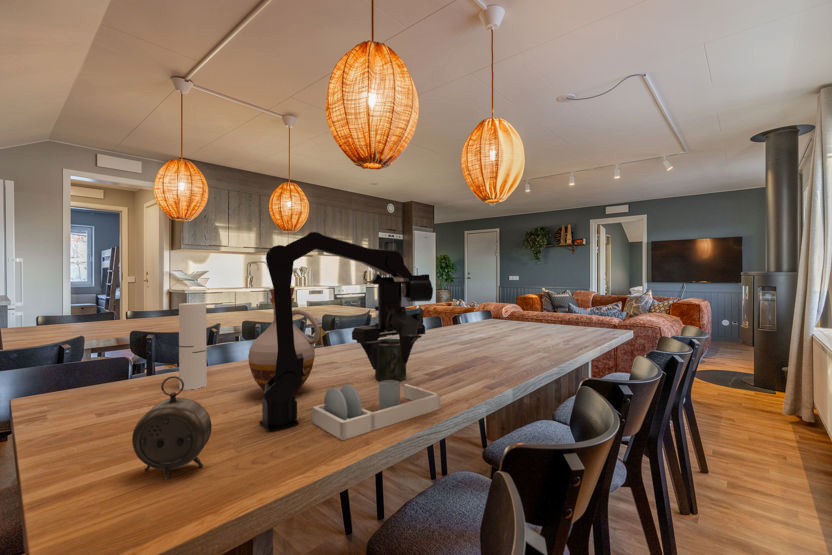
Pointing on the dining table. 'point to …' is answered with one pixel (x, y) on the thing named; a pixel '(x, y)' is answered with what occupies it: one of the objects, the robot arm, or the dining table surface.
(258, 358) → the jug
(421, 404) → the dish rack
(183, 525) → the dining table surface
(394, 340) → the mug
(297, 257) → the robot arm
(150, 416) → the alarm clock
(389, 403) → the grey rectangular slab
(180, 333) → the cylindrical container
